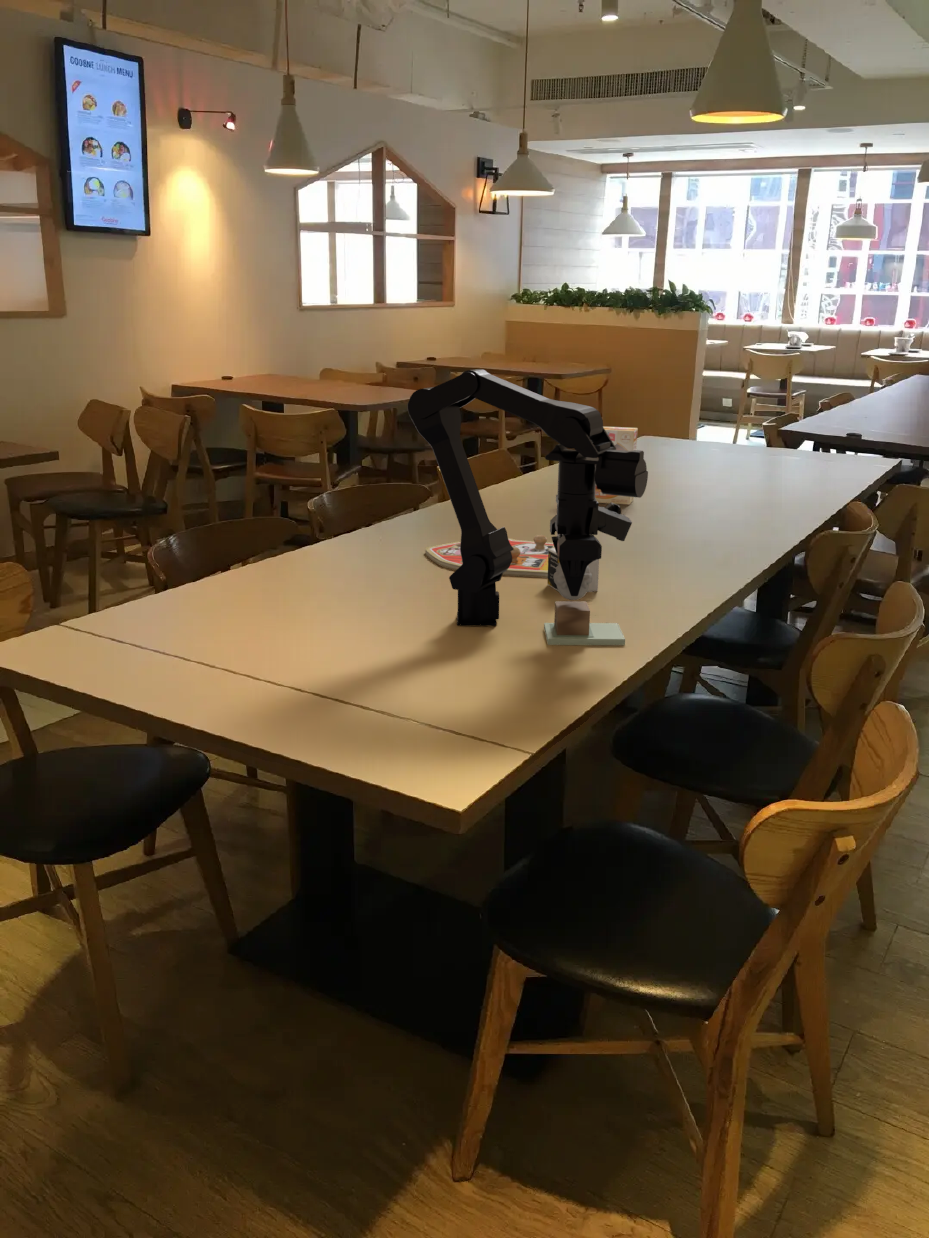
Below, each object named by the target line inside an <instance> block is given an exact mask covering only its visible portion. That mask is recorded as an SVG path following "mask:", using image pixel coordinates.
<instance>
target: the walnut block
mask: <svg viewBox="0 0 929 1238" xmlns="http://www.w3.org/2000/svg"><path fill="white" fill-rule="evenodd" d="M589 607H590V606H589V605H588V603H587V601H585V600H584V601H579V600H578V601H577V600H568V601H567V600H566V601H563V600H561V601H560V600H559V601H555V602H554V618H553V619H554V622H553V623H554V626H555V629H556V633H557V635H589V623H591V621H590V618H591V617H590V616H591V610H590V608H589Z"/></svg>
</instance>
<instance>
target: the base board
mask: <svg viewBox="0 0 929 1238" xmlns="http://www.w3.org/2000/svg"><path fill="white" fill-rule="evenodd" d="M543 630H544V634H545V639H546V643H547V645H548V646H625V645H626V638H625V636H624V632H623V631H622V629H621V627H620V625H619V622H618V623H617V622H590V623H589V635H557V633H556V629H555V626H554V622H544V623H543Z"/></svg>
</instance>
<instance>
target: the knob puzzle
mask: <svg viewBox="0 0 929 1238" xmlns="http://www.w3.org/2000/svg"><path fill="white" fill-rule="evenodd" d="M508 540H509V542H510V544H511V546H512V547H513V548H514V550H512V551H511V554H512V562H511V564H510V566H509V568H508V569H507V570H506V571H505V572H503V575H502V576H510V577H527V578H543V579H544V578H545V579H548V550H549V549H551V548H555V547H554V544H553V542H552V541H551V542H550V541H548V538H547V536H546V535H544V534H535V535H534V537H533V540H521V539H515V538H510V537H508ZM460 544H461V540H460V541H459V540H458V541H453V542H447V543H443V544H437V545H433V546H432V545H431V546H427V547H425V550H424V551H425V556H426V557H427V558H428V559H430V560H431V561H432V562H434V563H435V564H437V565H438V566H440V567H442V568H445V569H449V570H453V571H456V570H457V569H458V568H459V567H460V566H461V565H462V564H463V563H462V557H461V552H460Z"/></svg>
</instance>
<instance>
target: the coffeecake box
mask: <svg viewBox="0 0 929 1238" xmlns="http://www.w3.org/2000/svg"><path fill="white" fill-rule="evenodd" d="M603 428H604V429H605V431H606V433H607V434H608V436H609V437H610V439H611V441H612V442H613V444H614V445H615V447H616V450H623V451H633V450H638V449H637V447H638V446H637V445H638V434H639V433H638V430H639V428H638V427H623V426H622V427H621V426H603ZM595 498H596V501H598V504H610V503H614V504H617V505H628V506H630V505H631V504H632V503H633V501H634V498H635V497H628V496H618V495H608V494H603V493H602V492H601V490H600V489H597V486H596V487H595Z"/></svg>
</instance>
